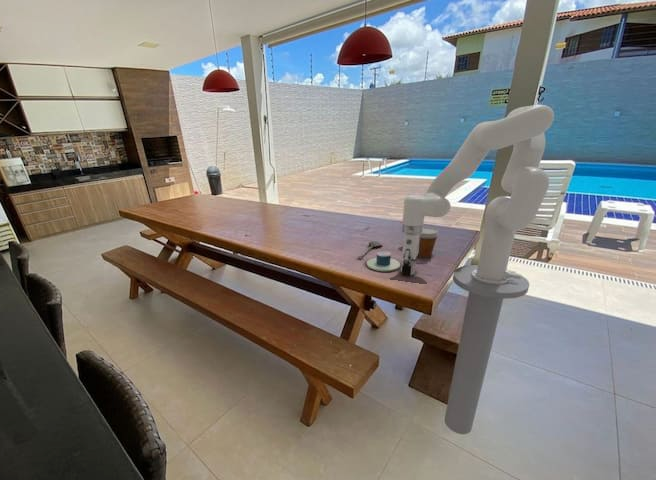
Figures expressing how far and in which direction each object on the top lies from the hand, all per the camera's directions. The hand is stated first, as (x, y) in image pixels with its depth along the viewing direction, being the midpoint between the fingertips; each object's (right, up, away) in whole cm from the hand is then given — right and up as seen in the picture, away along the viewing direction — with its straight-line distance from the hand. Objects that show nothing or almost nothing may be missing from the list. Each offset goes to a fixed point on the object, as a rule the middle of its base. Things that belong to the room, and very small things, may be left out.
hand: (408, 270), depth 124 cm
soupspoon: (-10, +9, +23) cm, 27 cm away
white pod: (0, -1, 0) cm, 1 cm away
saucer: (-8, +2, +9) cm, 12 cm away
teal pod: (-8, +3, +8) cm, 12 cm away
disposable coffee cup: (+13, +6, +16) cm, 21 cm away
